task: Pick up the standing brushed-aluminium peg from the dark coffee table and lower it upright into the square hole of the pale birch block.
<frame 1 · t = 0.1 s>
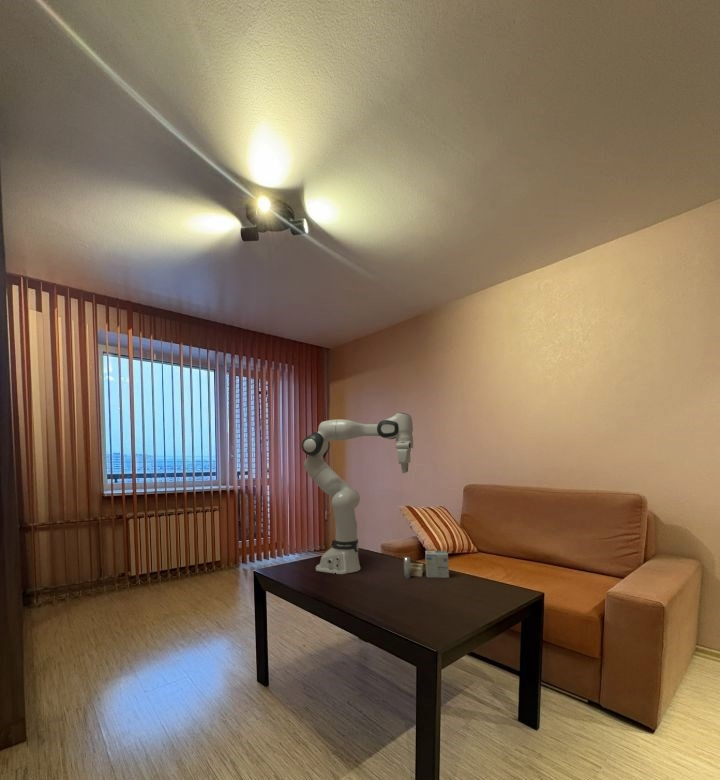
hand: (405, 472, 202), 48 cm above the table, fingers open, 8 cm apart
peg: (407, 577, 189), on the table
light bulb box: (437, 576, 191), on the table
hole block: (414, 573, 195), on the table
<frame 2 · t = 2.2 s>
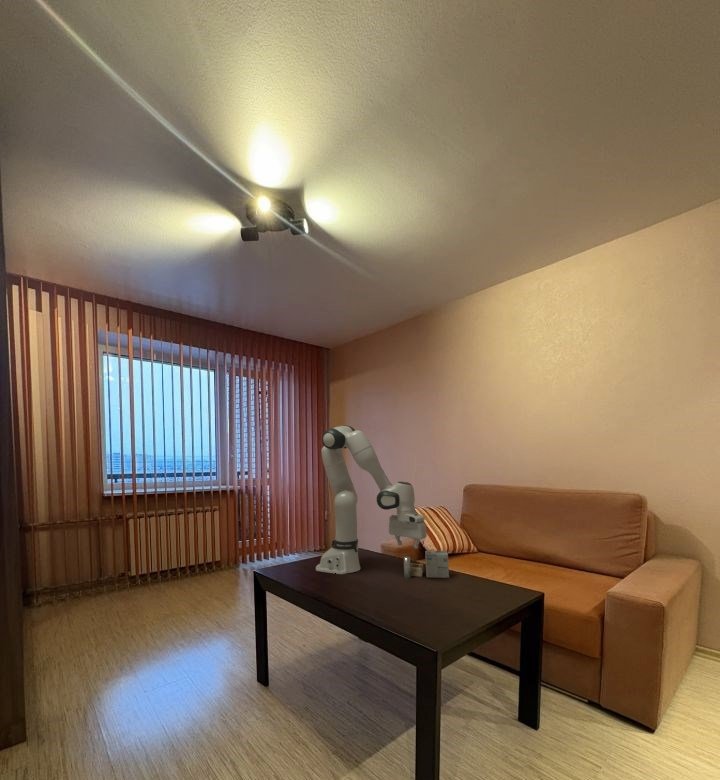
hand: (407, 546, 190), 14 cm above the table, fingers open, 8 cm apart
nothing on the table moved.
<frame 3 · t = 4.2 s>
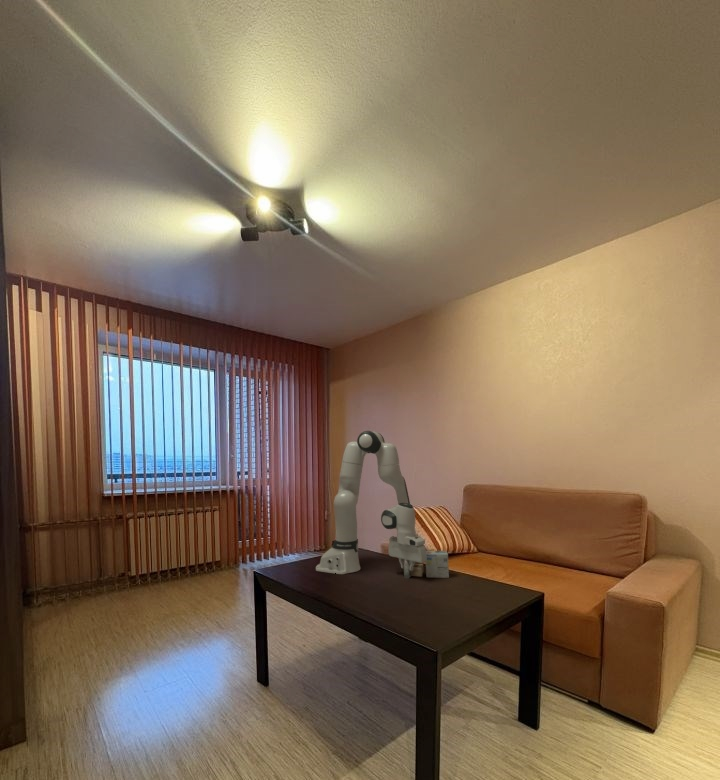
hand: (407, 569, 189), 4 cm above the table, fingers closed on peg, 3 cm apart
peg: (407, 577, 189), on the table, touching gripper
everything else where it was.
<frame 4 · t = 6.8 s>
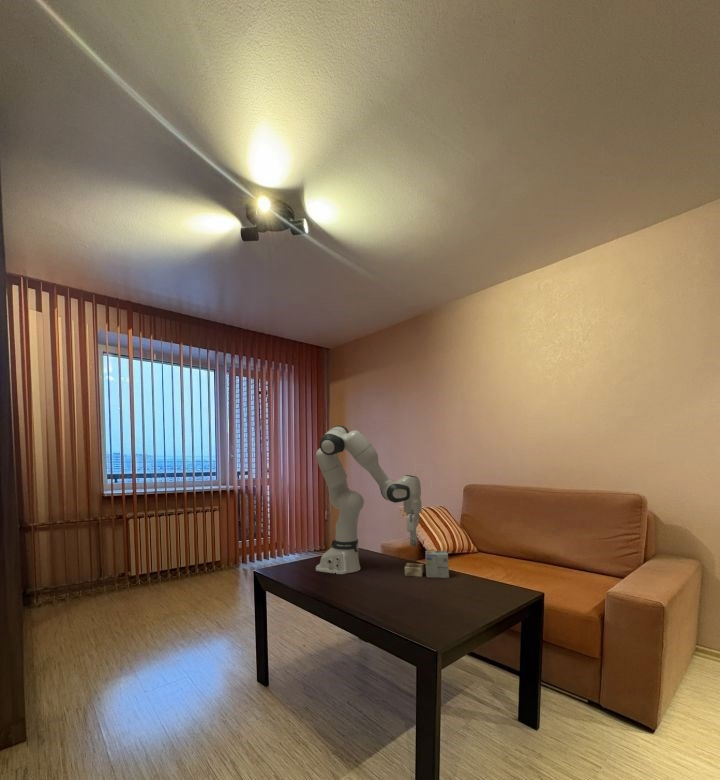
hand: (413, 537, 197), 17 cm above the table, fingers closed on peg, 3 cm apart
peg: (413, 545, 196), point 13 cm above the table, touching gripper
everything else where it was.
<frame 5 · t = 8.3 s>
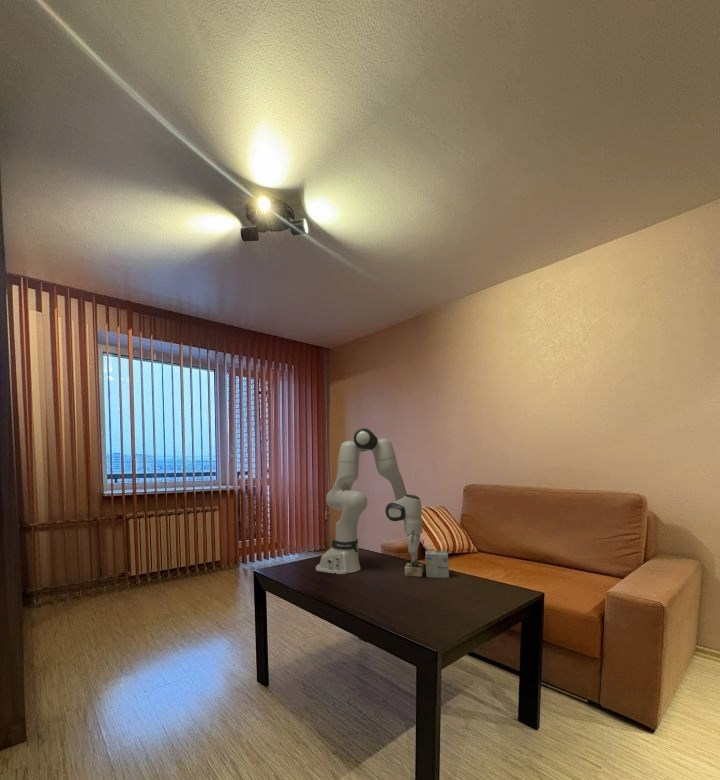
hand: (414, 558, 196), 7 cm above the table, fingers closed on peg, 3 cm apart
peg: (414, 566, 196), point 3 cm above the table, touching gripper
everything else where it was.
when the fingers open (6 cm above the table, at t = 9.3 s): peg drops 2 cm, resting in hole block.
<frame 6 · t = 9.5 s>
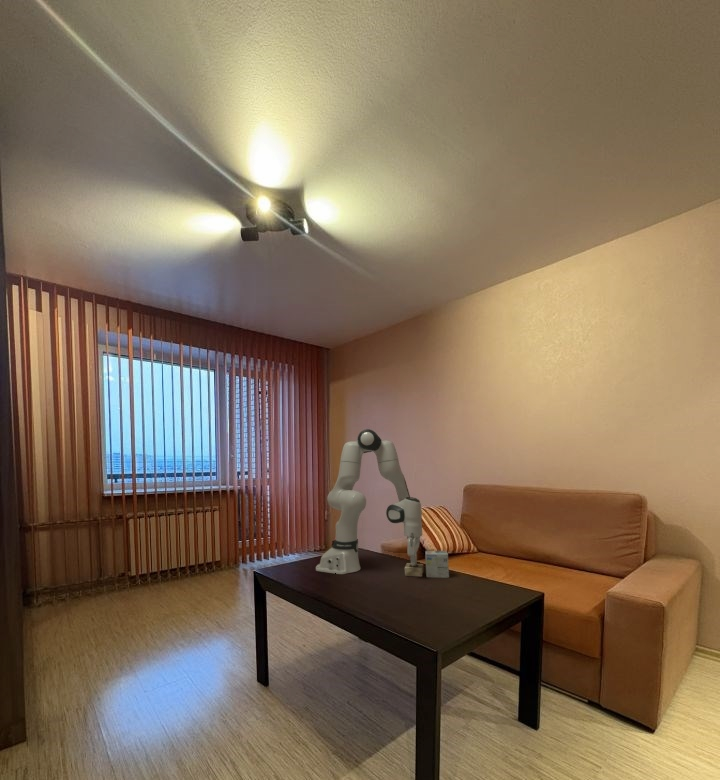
hand: (413, 561, 195), 6 cm above the table, fingers open, 5 cm apart
peg: (413, 573, 194), resting in hole block
everything else where it was.
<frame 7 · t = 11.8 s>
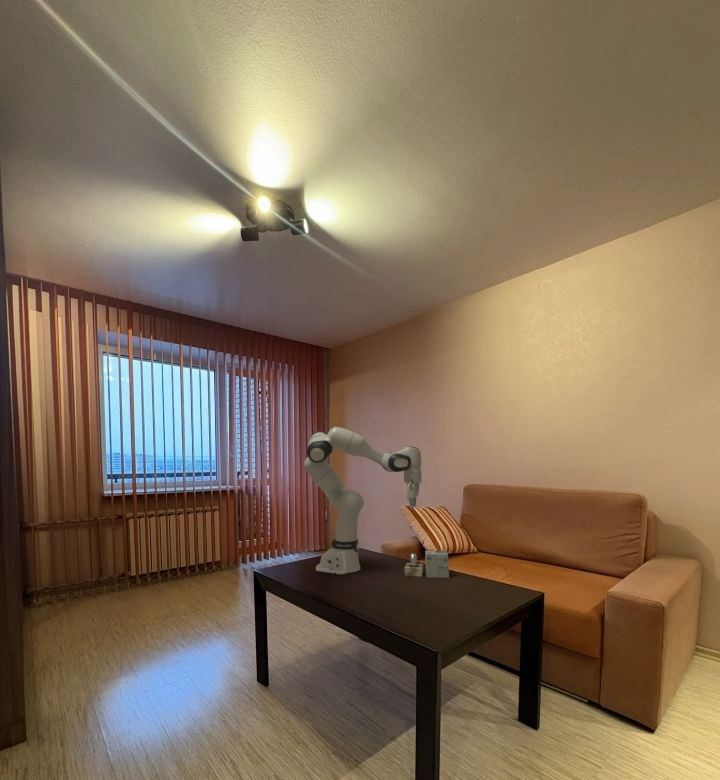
hand: (412, 507, 200), 31 cm above the table, fingers open, 8 cm apart
nothing on the table moved.
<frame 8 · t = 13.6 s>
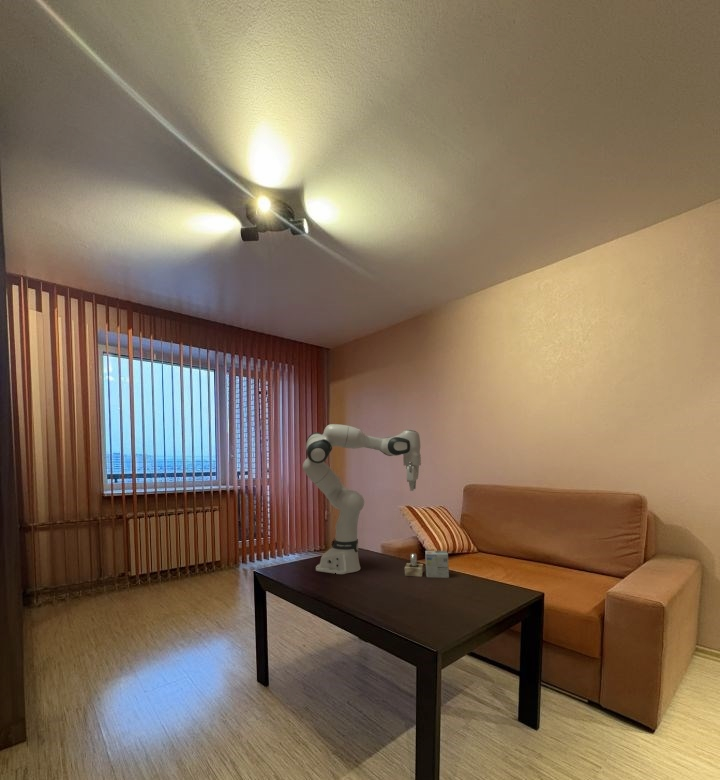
hand: (412, 489, 203), 39 cm above the table, fingers open, 8 cm apart
nothing on the table moved.
at the end: peg 0.2 cm off-centre on the hole block, point 0.0 cm above the hole block's base; peg tilted 0°; the gripper is holding nothing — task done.
